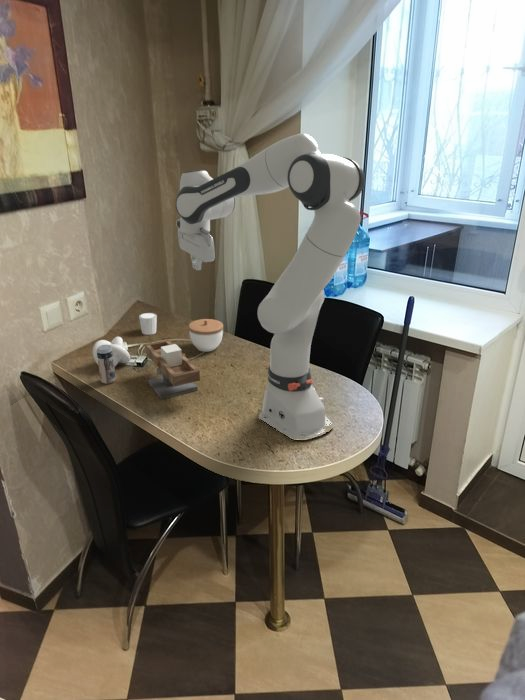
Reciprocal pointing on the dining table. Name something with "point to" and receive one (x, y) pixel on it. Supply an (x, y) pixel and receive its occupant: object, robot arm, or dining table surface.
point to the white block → (171, 355)
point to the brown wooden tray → (171, 373)
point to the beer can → (106, 364)
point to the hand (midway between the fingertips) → (196, 269)
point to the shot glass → (148, 323)
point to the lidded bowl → (206, 334)
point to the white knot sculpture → (113, 350)
